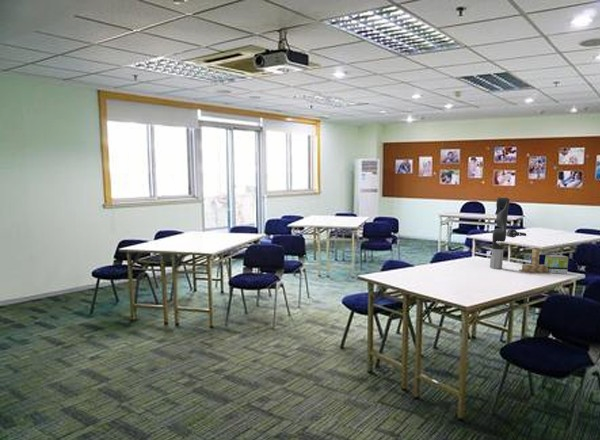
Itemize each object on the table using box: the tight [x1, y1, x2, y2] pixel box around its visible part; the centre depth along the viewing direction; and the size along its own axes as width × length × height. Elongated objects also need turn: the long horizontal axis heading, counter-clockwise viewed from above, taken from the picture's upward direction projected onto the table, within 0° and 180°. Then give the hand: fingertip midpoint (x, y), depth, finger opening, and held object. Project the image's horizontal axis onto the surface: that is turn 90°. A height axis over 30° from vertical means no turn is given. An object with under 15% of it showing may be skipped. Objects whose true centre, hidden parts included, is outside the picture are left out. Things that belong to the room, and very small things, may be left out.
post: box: [530, 248, 541, 265], centre depth 394 cm, size 4×4×14 cm
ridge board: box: [519, 263, 551, 274], centre depth 394 cm, size 20×13×6 cm, turn 100°
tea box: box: [544, 254, 569, 274], centre depth 396 cm, size 15×10×15 cm, turn 97°
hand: (521, 234), depth 414 cm, fingers open, 8 cm apart
